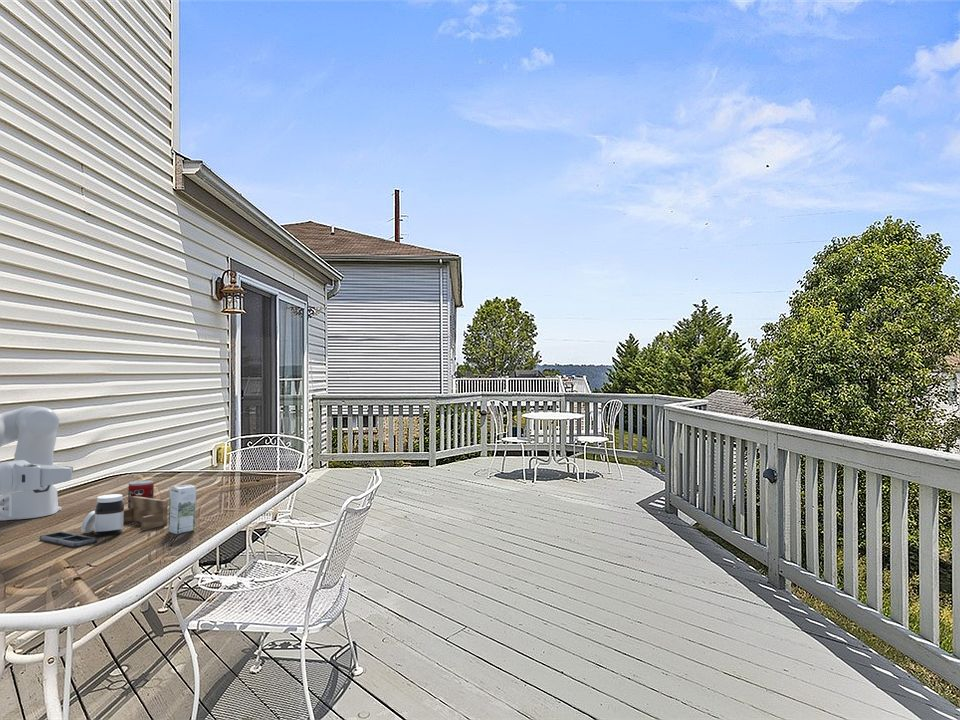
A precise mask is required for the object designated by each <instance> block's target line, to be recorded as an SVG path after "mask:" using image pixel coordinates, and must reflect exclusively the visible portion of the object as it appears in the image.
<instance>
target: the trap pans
mask: <svg viewBox="0 0 960 720" xmlns="http://www.w3.org/2000/svg"><path fill="white" fill-rule="evenodd" d="M39 541H43V542H48V543H52V544H58V545H61V546H67V547H71V548H72V547H73V548H79V547H83V546H86V545H87V546H88V545H91V544H95V543H98V538H97V537H94V536H89V535H88V536H87V535H84V534H77V533H72V532H68V531H61V530H60V531H56V532H52V533H46V534H43V535H39Z"/></svg>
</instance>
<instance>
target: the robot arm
mask: <svg viewBox="0 0 960 720" xmlns="http://www.w3.org/2000/svg"><path fill="white" fill-rule="evenodd" d="M59 425H60V418H59V416H58V415H57V413H56V412H55V410H53V409H51V408H50V407H49V408H48V407H44V406H39V405H38V406H37V405H27V406H24V407H20V408H16V409H12V410H9V411H4V412H1V413H0V448H1V447H4V446H6V445H9V444H11V443H15V442H17V444H16V448H15V452H14V455H13V456H14V457H13V458H14V459H13V460H10V461H9V460H8V461H2V462H0V495H1V496H0V521H9V520H10V521H12V520H25V519H35V518H41V517H46V516H50V515H51V516H52V515H54V514H56V513H57V512H59V511H61V510H62V506H59V501H58V489H57V487H56V486H54V485H57V484H61V483H65V482H69V481H71V480H72V479H73V472H74V466H68V465H64V466H60V465H59V466H58V465H54V450H55V445H56V441H57V437H58V429H59Z"/></svg>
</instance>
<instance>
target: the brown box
mask: <svg viewBox="0 0 960 720" xmlns="http://www.w3.org/2000/svg"><path fill="white" fill-rule="evenodd" d="M168 502H169V501H168V499H167V500H166V499H159V498H154V497H153V498H146V497H138V496H132V497H131V504H130V509H128V508H126V509H125V508H124V521H123V524H124V523H128V522H131V521H132V522H141V527H140V530H142V531H146V530H150V529H153V528H154V529H155V528H158V527H163V526H166V525H168V506H169V505H168Z"/></svg>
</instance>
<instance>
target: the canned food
mask: <svg viewBox="0 0 960 720" xmlns="http://www.w3.org/2000/svg"><path fill="white" fill-rule="evenodd" d="M154 483H155V482H154V480H150V479H149V480H148V479H147V480H145V479H143V480H134V481H131V482H128V490H127V492H128V493H127V494H128V495H127V498H128V499H127V500H128V502H127V509H130V504H131V497H132V496H138V497H146V498H153V499H154V492H155V491H154V489H155V485H154Z"/></svg>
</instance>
